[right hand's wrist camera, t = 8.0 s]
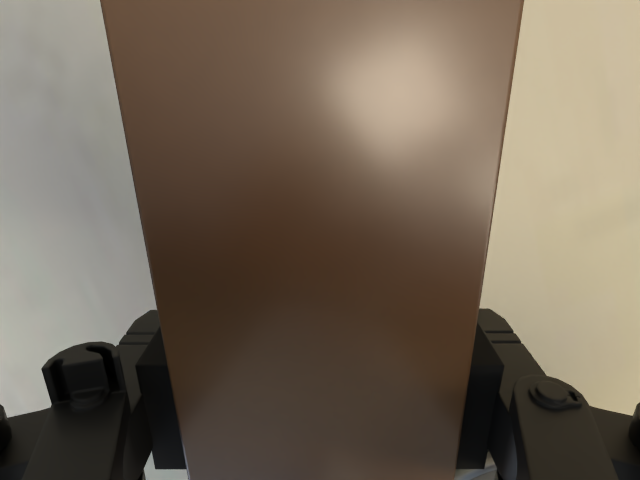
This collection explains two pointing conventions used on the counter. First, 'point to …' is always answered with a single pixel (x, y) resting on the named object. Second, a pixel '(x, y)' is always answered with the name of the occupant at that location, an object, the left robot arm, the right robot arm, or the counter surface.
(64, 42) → the counter surface
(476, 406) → the right robot arm
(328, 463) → the bar
